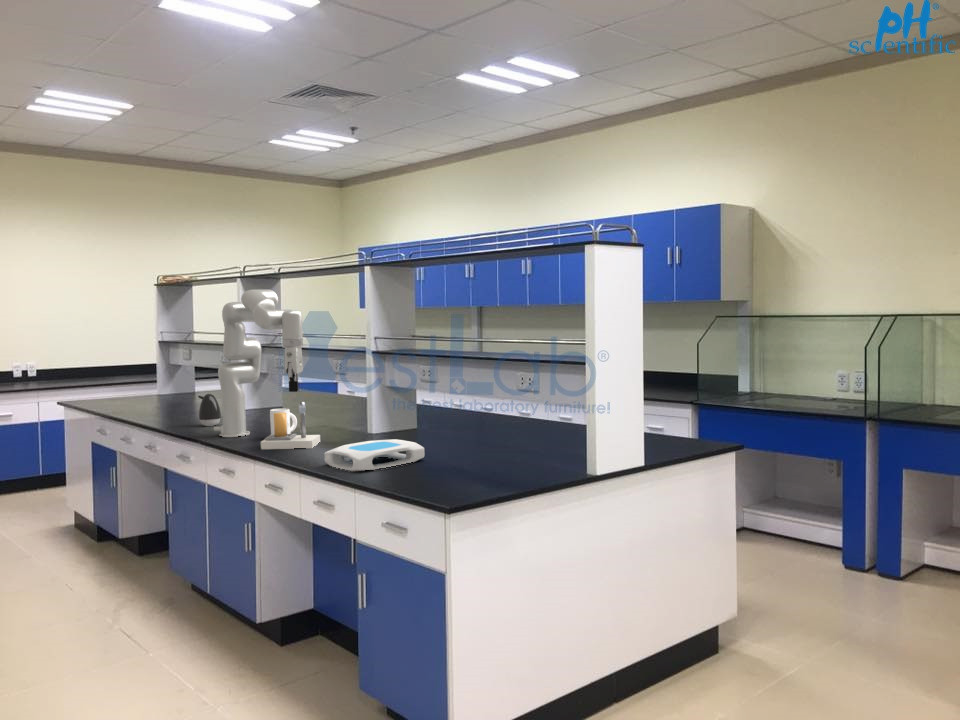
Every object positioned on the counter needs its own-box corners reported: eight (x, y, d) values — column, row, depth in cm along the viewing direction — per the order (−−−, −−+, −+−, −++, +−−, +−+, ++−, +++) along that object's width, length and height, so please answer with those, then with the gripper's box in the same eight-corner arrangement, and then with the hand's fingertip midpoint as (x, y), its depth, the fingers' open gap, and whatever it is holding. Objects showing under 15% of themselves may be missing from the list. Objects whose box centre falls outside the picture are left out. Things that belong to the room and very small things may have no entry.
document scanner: (323, 466, 270) (323, 448, 270) (389, 454, 289) (388, 437, 289) (359, 474, 255) (358, 455, 255) (425, 461, 274) (425, 443, 274)
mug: (302, 436, 333) (301, 408, 332) (277, 440, 325) (276, 411, 324) (292, 434, 339) (291, 406, 338) (267, 438, 331) (266, 409, 330)
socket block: (260, 449, 304) (260, 439, 304) (271, 443, 318) (270, 433, 318) (312, 448, 304) (312, 438, 303) (320, 442, 318) (319, 432, 317)
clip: (306, 442, 298) (305, 405, 297) (300, 442, 297) (298, 406, 296) (306, 436, 312) (305, 401, 311) (300, 436, 311) (299, 401, 310)
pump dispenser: (204, 424, 377) (203, 392, 376) (225, 424, 376) (224, 392, 375) (194, 427, 367) (192, 395, 366) (215, 427, 366) (213, 394, 365)
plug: (271, 439, 308) (270, 414, 307) (275, 437, 314) (274, 412, 313) (286, 439, 308) (285, 414, 307) (290, 437, 313) (289, 412, 313)
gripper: (297, 344, 290) (298, 394, 291) (307, 341, 304) (308, 388, 306) (277, 344, 290) (278, 394, 291) (287, 341, 305) (288, 388, 306)
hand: (293, 391), depth 299 cm, fingers closed
